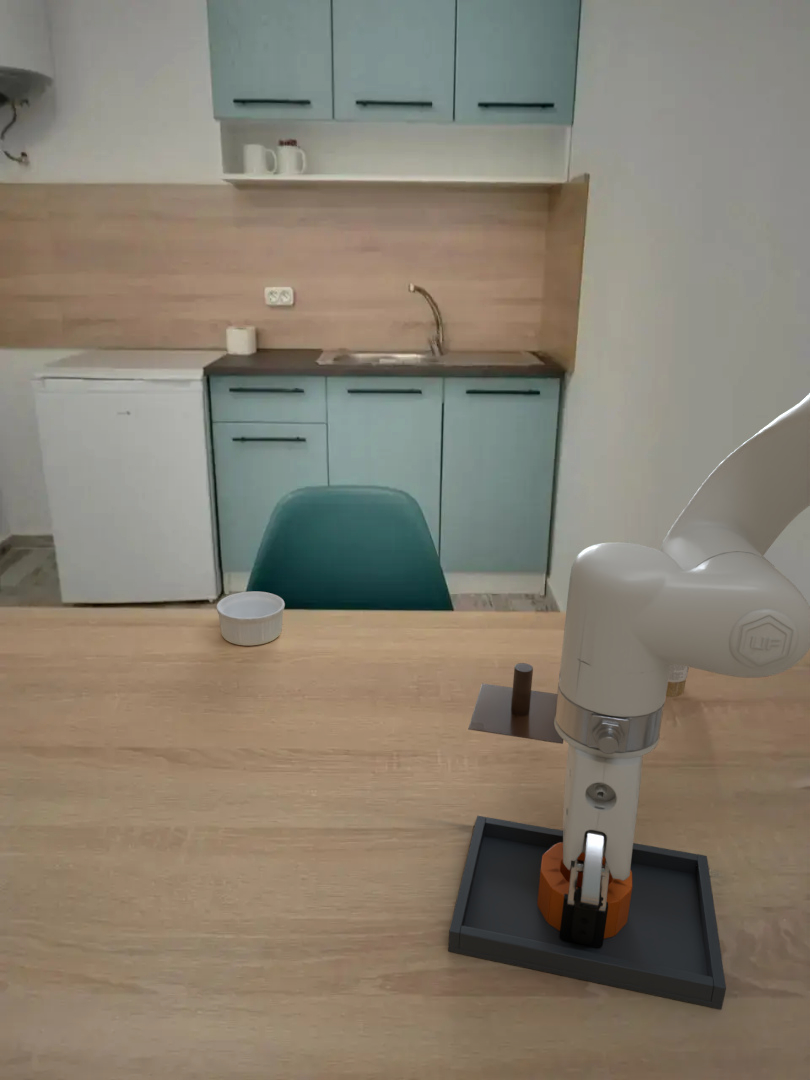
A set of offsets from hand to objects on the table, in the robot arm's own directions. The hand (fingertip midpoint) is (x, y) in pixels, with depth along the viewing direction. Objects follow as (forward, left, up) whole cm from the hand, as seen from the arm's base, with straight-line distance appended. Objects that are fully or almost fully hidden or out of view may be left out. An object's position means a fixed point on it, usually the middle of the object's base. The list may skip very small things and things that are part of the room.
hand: (582, 902), depth 66 cm
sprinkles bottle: (-8, -36, -1) cm, 37 cm away
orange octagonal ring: (0, 0, 0) cm, 0 cm away
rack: (+8, -26, -1) cm, 27 cm away
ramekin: (+45, -38, -1) cm, 59 cm away
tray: (0, 0, -1) cm, 1 cm away
